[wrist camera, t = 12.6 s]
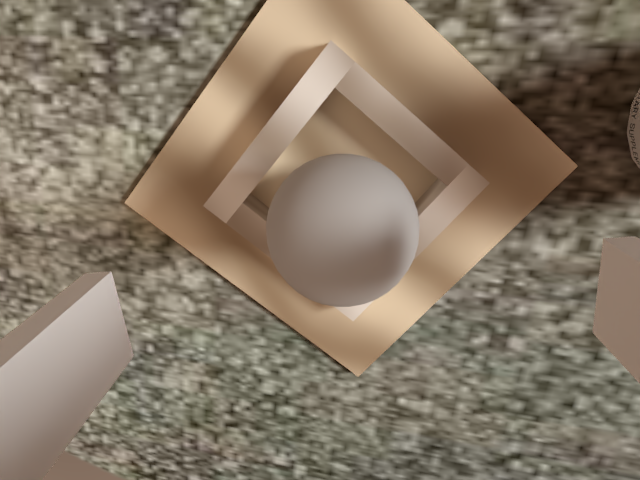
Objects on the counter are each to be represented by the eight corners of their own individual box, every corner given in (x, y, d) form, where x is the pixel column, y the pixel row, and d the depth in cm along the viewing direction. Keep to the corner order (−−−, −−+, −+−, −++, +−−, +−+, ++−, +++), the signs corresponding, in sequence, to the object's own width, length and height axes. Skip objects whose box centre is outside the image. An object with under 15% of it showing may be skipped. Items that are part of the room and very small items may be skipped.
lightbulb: (418, 192, 27) (468, 270, 16) (334, 256, 28) (330, 365, 18) (349, 105, 25) (356, 131, 15) (264, 178, 27) (217, 247, 16)
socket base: (322, -75, 23) (320, -94, 20) (572, 163, 26) (598, 174, 24) (128, 200, 28) (106, 213, 25) (357, 371, 31) (359, 398, 29)
